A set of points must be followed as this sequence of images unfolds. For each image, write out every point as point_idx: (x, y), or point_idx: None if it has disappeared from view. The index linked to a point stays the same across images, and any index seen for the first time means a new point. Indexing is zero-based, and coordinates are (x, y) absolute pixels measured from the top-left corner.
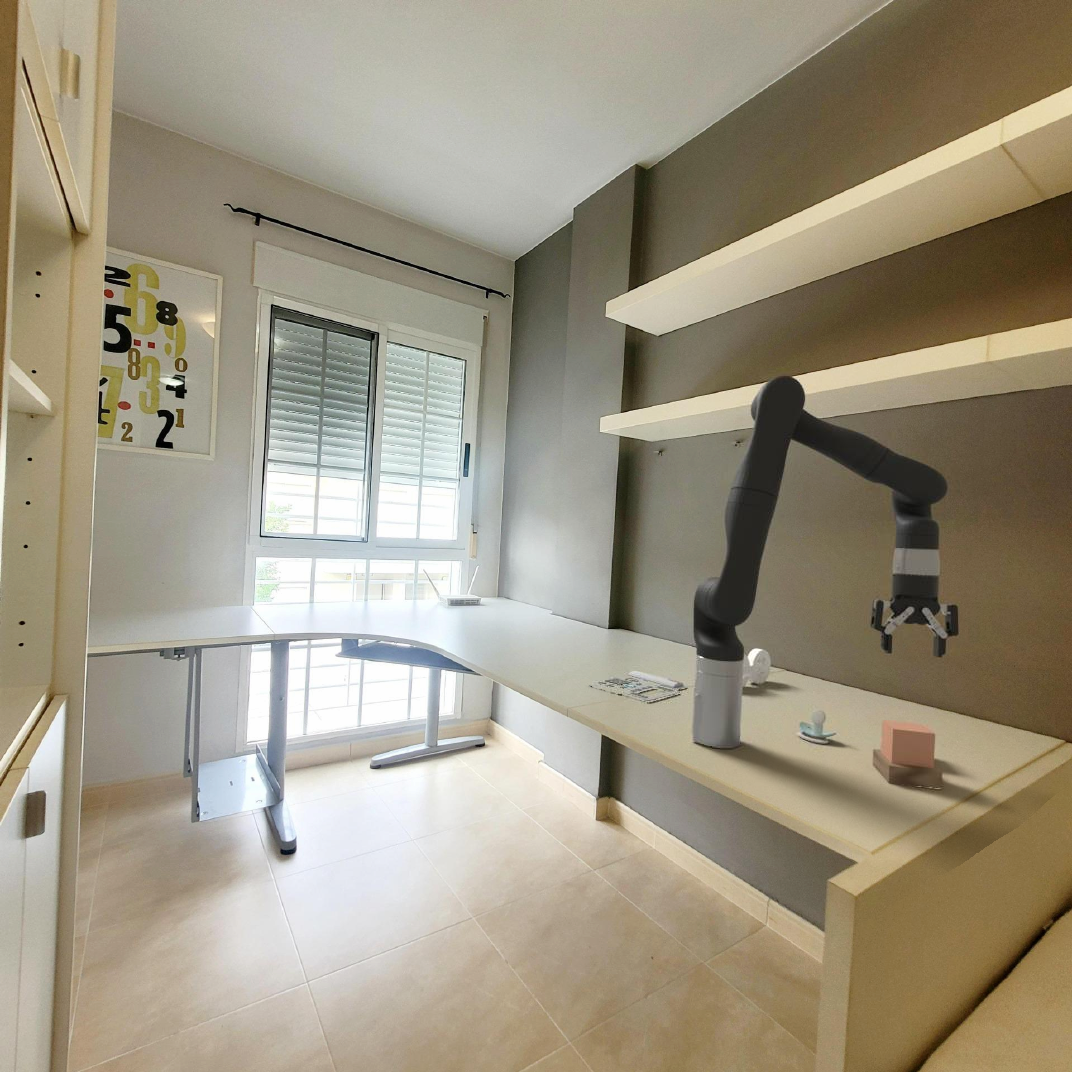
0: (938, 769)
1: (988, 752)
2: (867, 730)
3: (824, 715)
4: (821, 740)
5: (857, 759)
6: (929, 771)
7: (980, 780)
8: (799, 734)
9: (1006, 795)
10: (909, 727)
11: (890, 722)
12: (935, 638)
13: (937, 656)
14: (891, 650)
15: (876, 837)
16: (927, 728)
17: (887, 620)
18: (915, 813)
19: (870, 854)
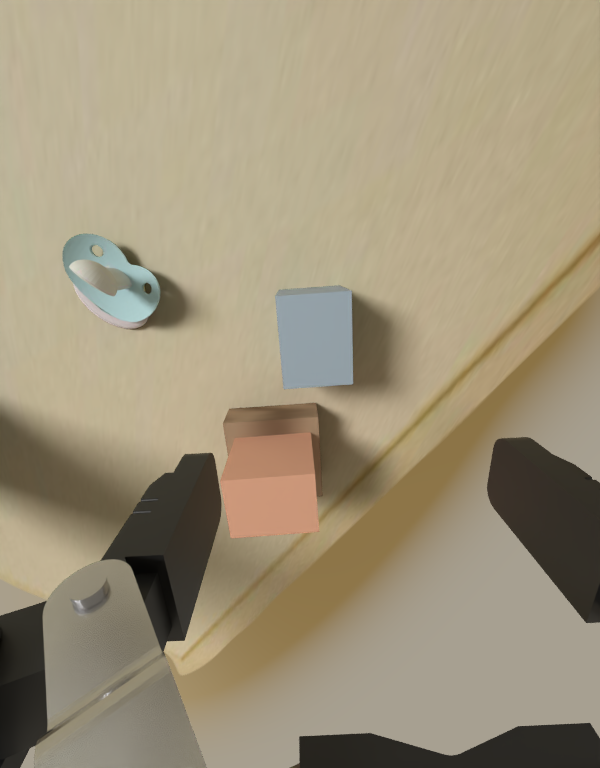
0: (321, 483)
1: (549, 183)
2: (269, 117)
3: (106, 292)
4: (131, 322)
5: (204, 390)
6: None
7: (414, 401)
8: (78, 294)
9: (423, 453)
10: (273, 512)
11: (236, 492)
12: (594, 559)
13: (490, 495)
14: (215, 528)
15: (191, 632)
16: (315, 501)
17: (46, 752)
18: (252, 565)
19: (180, 661)
